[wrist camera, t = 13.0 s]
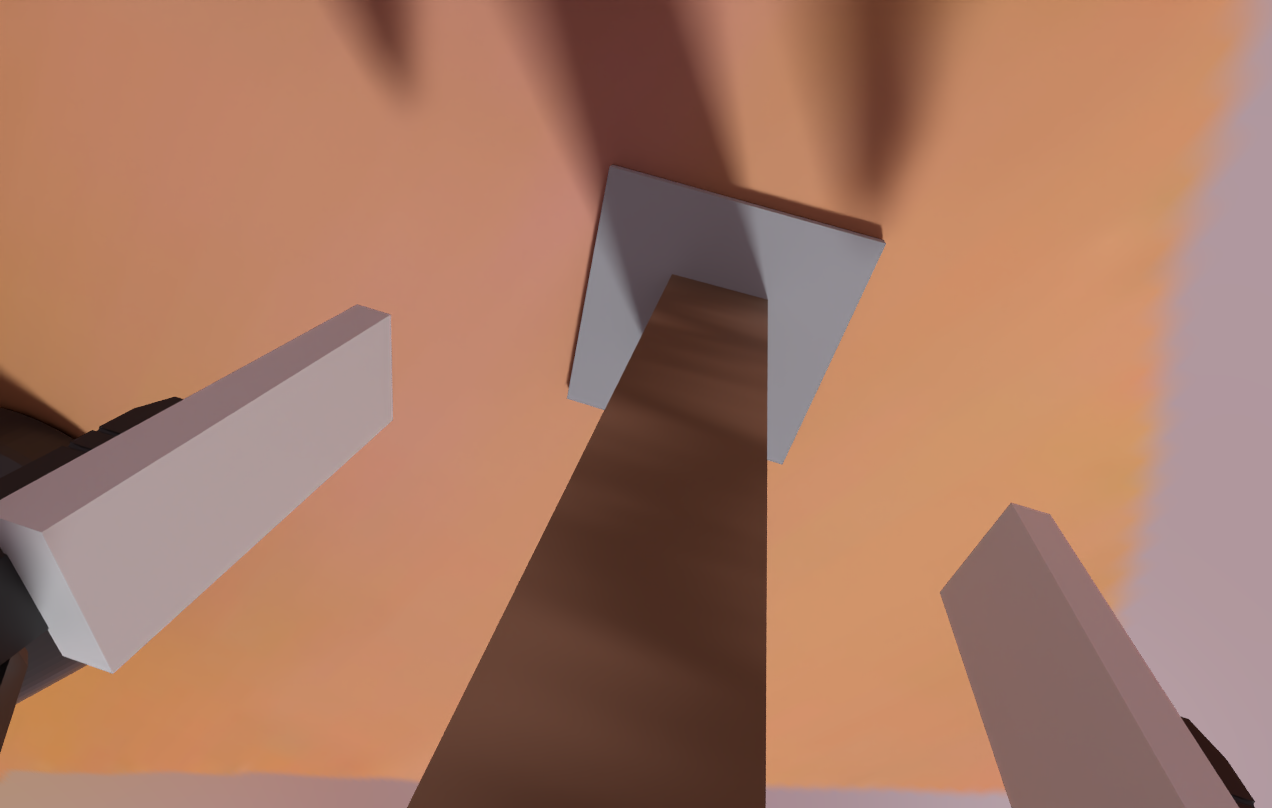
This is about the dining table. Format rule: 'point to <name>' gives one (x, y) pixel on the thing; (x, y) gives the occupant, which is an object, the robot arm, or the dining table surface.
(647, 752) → the walnut rod
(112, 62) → the dining table surface
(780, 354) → the mat
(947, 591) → the robot arm
